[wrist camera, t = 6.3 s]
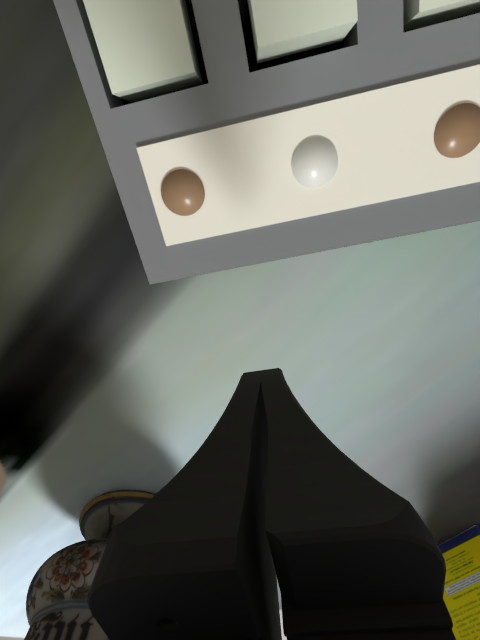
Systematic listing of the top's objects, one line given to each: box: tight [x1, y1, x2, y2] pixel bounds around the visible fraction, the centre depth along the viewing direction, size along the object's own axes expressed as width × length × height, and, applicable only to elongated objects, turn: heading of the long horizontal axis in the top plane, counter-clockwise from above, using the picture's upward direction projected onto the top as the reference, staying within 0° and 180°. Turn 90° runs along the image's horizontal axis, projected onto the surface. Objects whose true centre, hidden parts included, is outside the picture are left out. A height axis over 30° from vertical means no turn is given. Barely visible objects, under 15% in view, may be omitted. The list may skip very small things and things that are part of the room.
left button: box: [83, 0, 203, 102], centre depth 14 cm, size 4×4×2 cm
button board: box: [53, 0, 480, 284], centre depth 15 cm, size 18×14×2 cm
